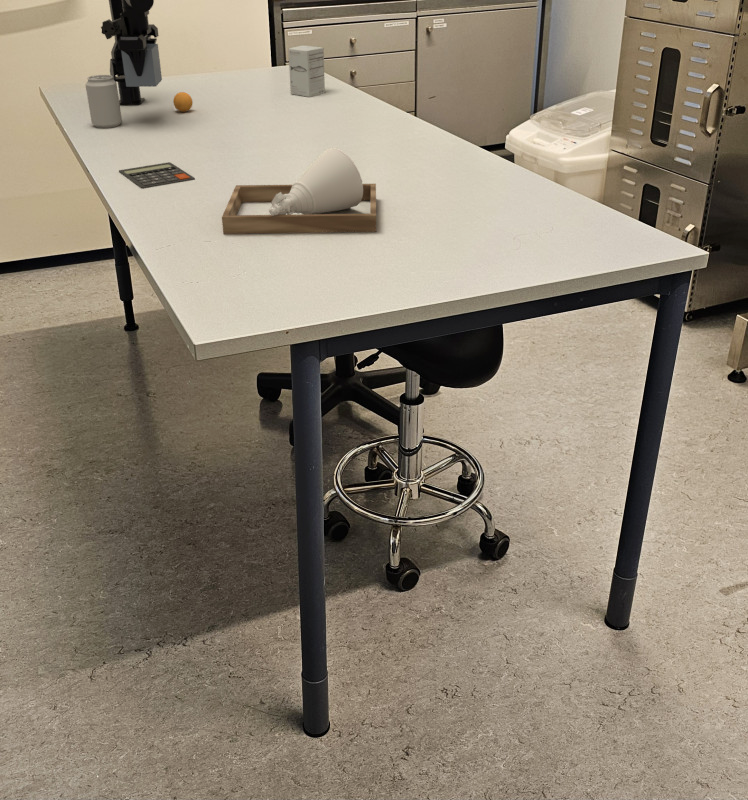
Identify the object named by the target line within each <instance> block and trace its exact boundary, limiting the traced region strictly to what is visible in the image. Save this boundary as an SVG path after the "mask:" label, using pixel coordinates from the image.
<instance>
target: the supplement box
mask: <svg viewBox="0 0 748 800" xmlns="http://www.w3.org/2000/svg"><path fill="white" fill-rule="evenodd" d="M324 49H325V48H324V47H319V46H312V45H305V44H303V45H298V46H293V47H290V48H288V64H289V65H288V67H289V68H288V69H289V86H290V88H289V89H290V94H291V95H297V96H300V97H301V96H303V97H307V98H312V97H316V96H320V95H323V94H325V93H326V91H325V90H326V87H325V86H326V85H325V60H324V59H325V56H324V54H325V53H324Z"/></svg>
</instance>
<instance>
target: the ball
mask: <svg viewBox="0 0 748 800" xmlns="http://www.w3.org/2000/svg"><path fill="white" fill-rule="evenodd" d="M172 103H173V105H174V108H175V109H176V110H177V111H179V112H181V113H182V112H183V113H184V112H188V111H189V110H190V109H192V107H193V99H192V97H191V95H190V94H188V93H187V92H184V91H180V92H177V93H176V95H174V96H173V102H172Z"/></svg>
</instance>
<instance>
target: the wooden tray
mask: <svg viewBox="0 0 748 800" xmlns="http://www.w3.org/2000/svg"><path fill="white" fill-rule="evenodd" d="M362 184H363V197H362V200H361V201H363V202H364V201H369V202H370V212H369V213H323V214H322V213H321V214H320V213H312V214H301V213H300V214H291V215H287V214H286V215H274V216H273V215H271V214H239V215H238V212H239V210H240V207H241V205H242V203H258V202H259V203H262V202H263V203H266V202H267V203H270V202H271V203H272V201H273V199H274V197H275V196H276V194H278V193H280V192H281V193H282V194H283V195H284V194H288V193H290V190H291V188H292V185H293V184H249V185H247V184H242V185H240V184H239V185H238V184H237V185H235V187H234V189H233V191H232V194H231V195H230V198H229V200H228V202H227V205H226V206H225V209H224V212H223V214H222V216H221V223H222V224H221V225H222V232H223V235H225V234H227V235H230V234H234V235H235V234H237V235H239V234H241V235H242V234H301V233H302V234H303V233H304V234H305V233H306V234H307V233H308V234H309V233H311V234H312V233H316V234H317V233H319V234H320V233H375V232H376V233H377V184H376V183H362ZM285 199H286V198H285ZM283 200H284V199H282V200H281V202H282V201H283Z"/></svg>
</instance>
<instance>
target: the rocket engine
mask: <svg viewBox="0 0 748 800" xmlns="http://www.w3.org/2000/svg"><path fill="white" fill-rule="evenodd" d="M363 184H364V183H363V179H362V176H361V174H360V171H359V169H358V167H357V165H356V164H355V163H354V161H353V160H352V158H351V157H350V156H349V155H348V154H347V153H345V152H344V151H343V150H341V149H339V148H337V147H336V148H335V147H329V148H327V149H325V150H324V151H323V152H321V154H319V156H317V157H316V158H315V159H314V161H312V162H311V164H309V166H308V167H307V168H306V169H305V170H304V171H303V173H302V174H301V175H300V177H299V178H298V179H297V180H296V182H294V183H293V184H291V185H292V188H291V190H290V193H288V194H284V195H283V194H282V193H281V192H280V193H278V194H276V196H275V197H274V199H273V201H272V202H271V206H270V208H269V209H268V213H269V215H273V216H274V215H294V214H297V215H300V214H320V213H321V214H322V213H323V214H324V213H329V212H337V211H343V210H347V209H350V208H354V207H356V206H358V205H359V204H360V203H361V200H362V197H363ZM285 198H286V199H285ZM282 199H284V200H283V201H282V202H281V200H282Z"/></svg>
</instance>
